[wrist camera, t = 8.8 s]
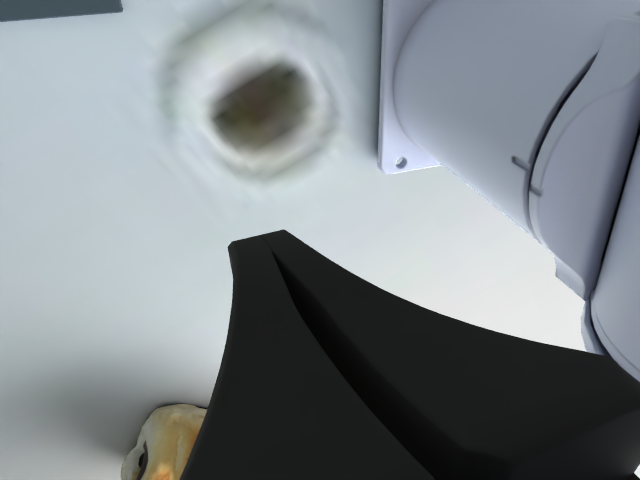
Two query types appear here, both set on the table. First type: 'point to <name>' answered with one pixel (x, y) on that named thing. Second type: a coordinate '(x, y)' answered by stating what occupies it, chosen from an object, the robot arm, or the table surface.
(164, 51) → the table surface
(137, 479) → the pastry
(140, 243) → the table surface
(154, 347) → the table surface
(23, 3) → the grey rectangular frame
